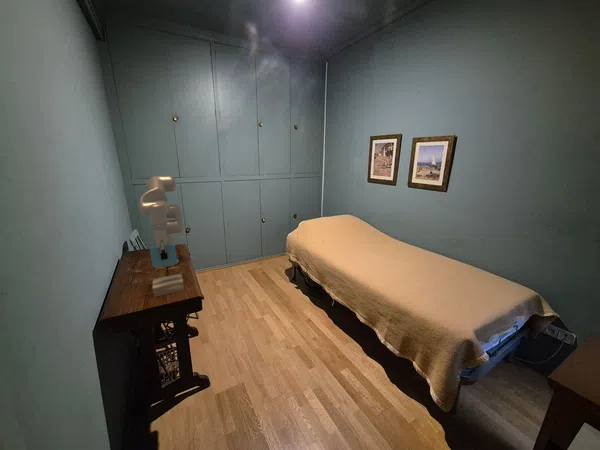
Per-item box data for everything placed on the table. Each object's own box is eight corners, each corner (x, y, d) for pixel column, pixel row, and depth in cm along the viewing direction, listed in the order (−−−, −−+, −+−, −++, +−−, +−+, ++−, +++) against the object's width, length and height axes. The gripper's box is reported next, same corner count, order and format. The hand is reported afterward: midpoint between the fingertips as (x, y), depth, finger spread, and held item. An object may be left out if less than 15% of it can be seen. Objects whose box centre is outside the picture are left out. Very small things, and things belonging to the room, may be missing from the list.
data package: (177, 261, 139) (174, 241, 136) (177, 264, 135) (174, 244, 132) (153, 265, 133) (149, 245, 130) (152, 268, 129) (149, 247, 126)
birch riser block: (154, 286, 139) (152, 278, 138) (182, 280, 147) (181, 273, 146) (154, 297, 129) (152, 288, 127) (184, 289, 136) (183, 282, 135)
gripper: (151, 223, 133) (156, 254, 138) (151, 231, 119) (156, 264, 124) (166, 222, 137) (171, 251, 142) (168, 229, 123) (172, 261, 128)
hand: (164, 257), depth 133 cm, fingers closed on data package, 4 cm apart
